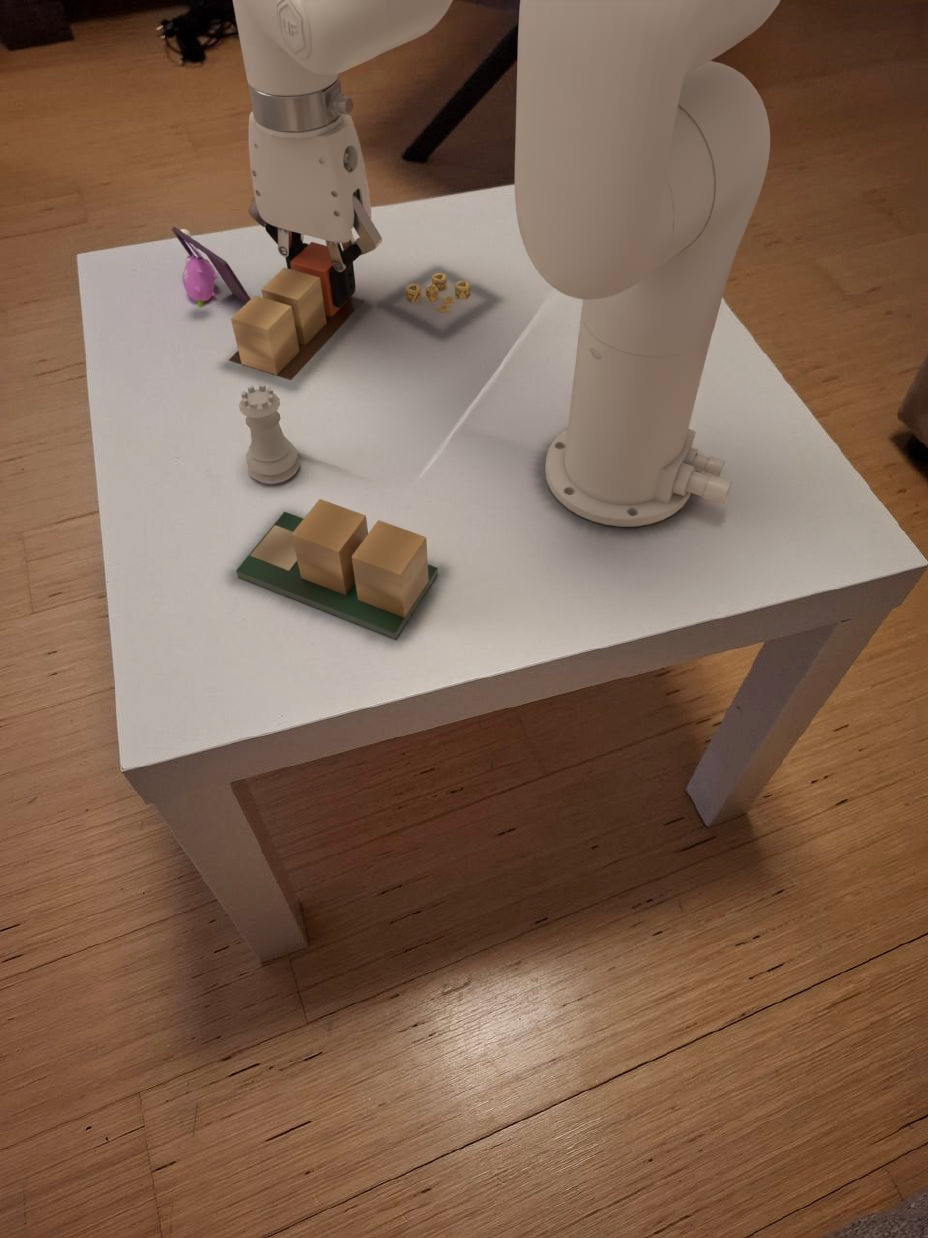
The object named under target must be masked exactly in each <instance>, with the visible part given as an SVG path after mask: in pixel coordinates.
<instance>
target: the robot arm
mask: <svg viewBox="0 0 928 1238" xmlns="http://www.w3.org/2000/svg"><path fill="white" fill-rule="evenodd" d="M453 1H454V0H232V6H233V9H234V15H235V16H234V17H235V21H236V27H237V33H238V38H239V44H240V49H241V54H242V59H243V66H244V71H245V76H246V82H247V83H246V84H247V87H248V92H249V93H248V95H249V98H250V104H251V109H252V110H251V112H250V113H249V116H248V155H249V156H248V157H249V165H250V166H249V167H250V176H251V182H252V190H253V194H254V195H253V198H252V200H251V203H250V205H249V207H248V211H247V212H248V214H249V216H250V217H251V218H252V219H253V220H254V221H256V223H258V224H259V225H260V226H261V227H262V228H265V232H266V233H267V234H268V236H270V238H271V239H272V240H273V241H274V242H275V244H276V245H277V251H278V253H279V255H280V256H282V257H284V258H285V263H286V268H288V269H291V264H290V262H291V261H292V260H293V259H294V258H295V257H296V256H297V255H298V254H299V253H300V252H301V251H303V250H304V249H305V248H306V247H307V246H308V245H309V243H307V242H304V240H305V239H304V236H308V237H312V238H316V239H320V240H323V241H325V245H326V246H327V248H328V251H329V255H330V258H331V261H332V265H333V268H332V269H331V270H330V271H329V276H330V284H331V291H332V298H333V304H334V306H335V307H338V308H340V307H341V306H342V305H343V304H344V303H345V302H346V301H347V300H348V299H349V298H350V297H353V295H354V294H355V292H356V287H357V286H356V277H355V268H354V262H355V261H356V260H357V259H358V258H359V257H361V256H362V255H366V254H368V253H371V252H372V251H375V250H376V249H377V248H378V247H379V246H380V245H381V244H382V242H383V238H382V236H381V234H380V232H379V231H378V229H377V227H376V226H375V224H374V222H373V220H372V205H371V203H372V202H371V197H370V196H371V195H370V190H369V189H370V188H369V182H368V176H367V171H366V165H365V160H364V155H363V152H362V147H361V143H360V140H359V136H358V132H357V129H356V127H355V123H354V121H353V117H352V116H351V114H352V113H353V109H354V101H353V98H352V97H351V96H346V95H345V94H344V93H342V86H341V83H342V82H341V80H340V77H339V74H341V73H344V72H347V71H349V70H351V69H353V68H355V67H357V66H359V65H362V64H364V63H367V62H368V61H371V60H373V59H375V58H376V57H378V56H379V55H382V54H384V53H386V52H389V51H391V50H393V49H395V48H398V47H400V46H402V45H404V44H407V43H409V42H412V41H414V40H417V39H418V38H420V37H422V36H424V35H425V34H428V33H429V32H430V31H431V30H433V29H434V28H435V27H436V26H438V23H440V21H441V20H442V19H443V17H444V16H445V15H446V14H447V12H448V10H449V9H450V7H451V5H452V3H453ZM780 3H781V0H519V9H518V10H519V12H518V28H517V29H518V31H517V33H518V34H517V58H516V59H517V65H516V100H515V101H516V102H515V143H514V144H515V145H514V148H515V149H514V202H515V203H514V205H515V214H516V220H517V226H518V230H519V234H520V238H521V241H522V244H523V246H524V249H525V251H526V254H527V256H528V258H529V260H530V261H531V264H532V265H533V267H534V268H535V270H536V271H537V272H538V274H539V275H540V276H541V277H542V279H544V280H545V281H546V283H548V285H550V286H551V287H552V288H554V290H556V291H557V292H560V293H561V294H563V295H566V296H568V297H571V298H573V299H579V300H582V305H581V310H580V319H579V326H578V327H579V328H578V337H577V346H576V355H575V364H574V370H573V371H574V373H573V381H572V390H571V400H570V408H569V416H568V426H567V428H565V429H564V430H563V431H562V432H560V433H559V434H558V435H557V436H555V438H554V439H553V440H552V442H551V444H550V445H549V447H548V450H547V453H546V457H545V468H544V473H545V479H546V483H547V485H548V487H549V489H550V492H551V493H552V494H553V495H554V497H555V498H556V499H557V500H558V501H559V502H560V503H561V504H562V505H563V506H564V507H565V508H566V509H568V510H569V511H571V512H573V513H574V514H576V515H577V516H579V517H581V518H584V519H586V520H589V521H591V522H594V523H598V524H600V525H601V524H602V525H605V526H610V527H611V526H612V527H621V528H625V527H627V528H631V527H642V526H648V525H652V524H655V523H658V522H662V521H664V520H665V519H667V518H670V517H671V516H673V515H675V514H676V513H677V512H678V511H680V510H681V509H682V508H683V507H684V506H685V504H686V503H687V502H688V500H689V499H690V497H691V494H693V495H696V496H699V497H702V499H705V500H706V501H707V500H708V501H711V502H714V503H717V504H720V505H725V503H726V502H727V499H728V496H729V494H730V491H731V488H732V485H733V481H732V480H728V479H726V478H722V477H720V476H721V474H722V472H723V469H724V466H725V463H726V460H723V459H720V458H718V457H717V458H716V457H713V456H708V455H705V454H700V453H699V449H696V448H693V445H694V442H695V436H696V433H697V432H696V430H694V429H690V428H689V427H690V424H691V420H692V417H693V412H694V407H695V404H696V400H697V397H698V392H699V388H700V385H701V381H702V377H703V372H704V368H705V364H706V359H707V356H708V352H709V348H710V344H711V340H712V337H713V333H714V330H715V326H716V324H717V319H718V315H719V311H720V307H721V304H722V300H723V296H724V293H725V289H726V286H727V282H728V280H729V277H730V273H731V270H732V266H733V264H734V262H735V261H734V260H735V258H736V255H737V252H738V249H739V247H740V245H741V242H742V240H743V237H744V235H745V232H746V230H747V228H748V225H749V223H750V220H751V218H752V216H753V213H754V211H755V207H756V206H757V204H758V203H757V202H758V200H759V198H760V195H761V192H762V188H763V185H764V183H765V178H766V176H767V170H768V166H769V161H770V160H769V159H770V153H771V130H770V121H769V118H768V117H769V116H768V112H767V109H766V107H765V104H764V101H763V99H762V97H761V96H760V94H759V92H758V90H757V88H755V86H754V85H753V83H751V81H750V80H749V79H748V78H747V77H746V76H745V75H744V74H743V73H742V72H740V71H738V70H737V69H735V68H733V67H731V66H729V65H727V64H724V63H721V62H716V61H713V60H714V59H715V58H718V57H719V56H721V55H722V54H724V53H726V52H727V51H728V50H730V49H732V48H733V47H735V46H736V45H738V44H739V43H741V42H742V41H743V40H745V39H746V38H748V37H749V36H751V35H752V34H753V33H754V32H756V31H757V30H758V29H759V28H760V27H762V26H763V24H765V22H766V21H767V20H768V19H769V18H770V16H771V15H772V14H773V13H774V11H775V10H776V8H777V7H778V6H779V4H780ZM352 229H354V230H355V232H356V233H357V235H358V238H356V239H355V238H354V233H353V230H352ZM342 250H344V251H343V252H342ZM696 470H697V471H696ZM698 471H701V472H704V473H705V474H704V473H701V472H698Z"/></svg>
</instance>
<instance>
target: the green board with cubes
mask: <svg viewBox="0 0 928 1238" xmlns="http://www.w3.org/2000/svg"><path fill="white" fill-rule="evenodd" d="M367 520H368V519H367V515H365V514H363V513H360V512H359V511H354V510H352V509H349V508H347V507H343V506H341V505H338V504H335V503H333V502H329V501H327V500H324V499H322V498H319V499H318V500H317V502H316V503H315V504H314V506H313V507H312V508H311V509H310V510H309V512H308V513H307V514H306V515H305V517H304V518H303V517H301V516H297V515H295V514H292V513H289V512H287V511H284V512H283V513H282V514H281V515H280V516H279V518H278V519H277V520H276V521H275V523H274V524H273V525H272V526H271V527H270V529H269V530H268V531H267V532H266V533H265V534H264V536H263V537H262V538H261V540H260V541H258V543H257V544H256V546H255V547H254V548H253V549H252V550H251V551H250V553H249V554H248V555H247V556H246V558H245V559H244V560H243V562H242V563H240V565H239V566H238V567H237V569H236V570H235V573H236V575H237V577H238V578H240V579H242V580H245V581H248V582H250V583H252V584H254V585H257V586H259V587H262V588H265V589H268V590H270V591H273V592H275V593H278V594H280V595H283V596H285V597H288V598H290V599H293V600H296V601H298V602H300V603H303V604H305V605H308V606H310V607H313V608H315V609H318V610H321V611H323V612H326V613H328V614H331V615H333V616H336V617H338V618H341V619H343V620H346V621H348V622H351V623H353V624H356V625H359V626H361V627H363V628H366V629H368V630H371V631H374V632H376V633H378V634H381V635H384V636H387V637H388V638H391V639H395V640H396V639H397V638H398V637H399V635H400V633H401V632H402V630H403V629H404V627H405V626H406V624H408V623H407V622H408V621H409V619H410V618H411V616H412V615H413V613H414V612H415V610H416V609H417V608H418V606H419V604H420V602H421V601H422V599H423V598H424V597H425V595H426V593H427V592H428V591H429V588H430V587H431V585H432V584H433V583H434V581H435V579H436V578H437V576H438V575H439V571H438V567H437V566H434V565H432V564H429V559H428V542H427V537H426V536H424V535H421V534H419V533H416V532H413V531H410V530H407V529H405V528H402V527H399V526H396V525H394V524H391V523H388V522H385V521H382V520H379V519H378V520H377V521H376V522H375V524H374V525H373V527H372V528H371V529H370V530H369V529H368V528H369V527H368V521H367Z"/></svg>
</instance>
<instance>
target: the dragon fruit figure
mask: <svg viewBox="0 0 928 1238" xmlns="http://www.w3.org/2000/svg"><path fill="white" fill-rule="evenodd" d="M171 231H172V232H173V234H174V235H175V237H176V239H177V240H178V241H179V243H180V244H181V246H182V247H183V249H184V250H185V251H186V253H187V254H188V255H187V256H186V259H184V261H185V267H184V269H183V273H182V283H183V287H184V290H185V292H186V293H187V295H188V296H189V297H190V298H191V299H193V300H195V301H196V302H197V304H196V306H197V308H200V309H201V308H202V307H203V306H204V303H205V302H208V301H209V300H210V299H211V298H212V297H215V298H216V296H217V295H216V293H215V292H214V289H215V281H216V279H219V276H220V278H221V280H222V281H223V282H224V284H225V285H226V287H227V288H228V289H229V291H230V292H231V293H232V295H233V296H234V297H236V298H238V299H239V300H241V301H242V302H244V303H245V304H246V303H247V302H249V301H250V300H251V299H252V298H251V296H249V294H248V292H247V291H246V289H245V288H244V286H243V285H242V283H241V281H240V280H239V278H238V277H237V275H236V274H235V272H234V270H233V269H232V267H231V266H230V264H229V263H228V262H227V261H226V260H225V259H223V258H222V257H220V256H219V255H217V254H216V253H214V251H211V250H210V249H209V248H207V247H205V246H204V245H202V244H201V243H200V242H199V241H197V240H195V239H194V238H193V237H192V233H191V232H190V230H189V229H186V228H181V229H179V228H177V227H176V226H173V227H172V228H171ZM200 251H201V252H202V253H203V254H205V255H206V257H207V258H208V259H209V260H208V259H206V258H204V257H203V255H202V254H201V252H200ZM194 253H195V254H194ZM187 259H188V260H187ZM189 259H190V260H189ZM216 272H217V273H218V274H219V276H218V275H217V274H216Z"/></svg>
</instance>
